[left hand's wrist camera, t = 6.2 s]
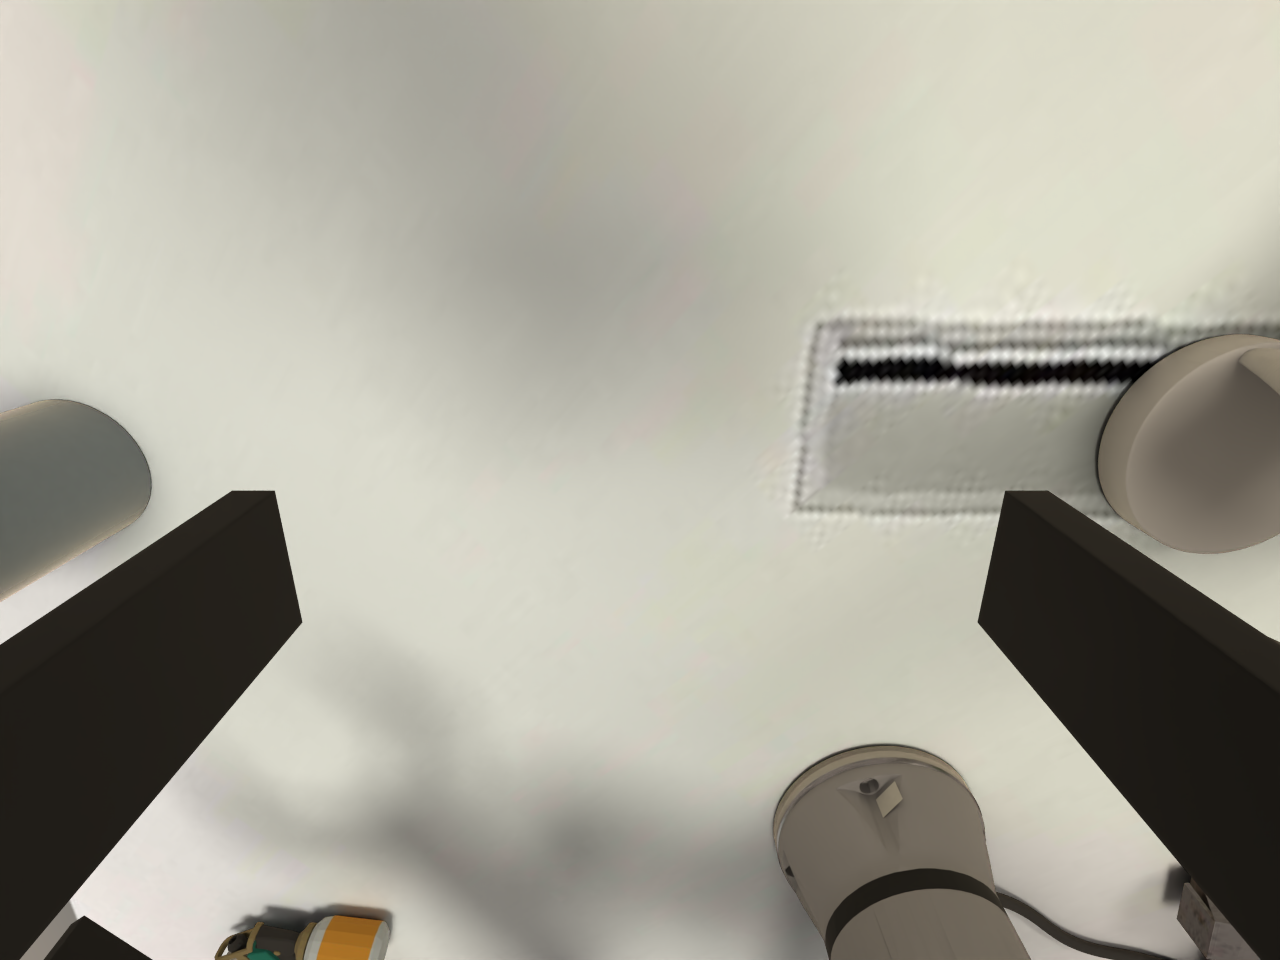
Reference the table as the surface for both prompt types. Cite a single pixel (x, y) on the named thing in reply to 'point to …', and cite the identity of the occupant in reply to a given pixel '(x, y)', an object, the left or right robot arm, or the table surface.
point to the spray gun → (311, 941)
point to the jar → (63, 487)
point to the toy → (1210, 927)
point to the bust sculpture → (1200, 447)
